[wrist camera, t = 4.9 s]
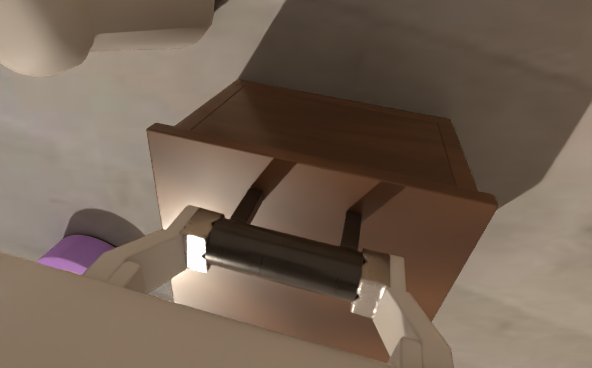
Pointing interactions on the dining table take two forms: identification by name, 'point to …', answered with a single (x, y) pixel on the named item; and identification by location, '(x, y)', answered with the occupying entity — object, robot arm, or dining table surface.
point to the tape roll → (75, 253)
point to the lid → (308, 234)
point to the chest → (336, 131)
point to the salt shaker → (93, 30)
